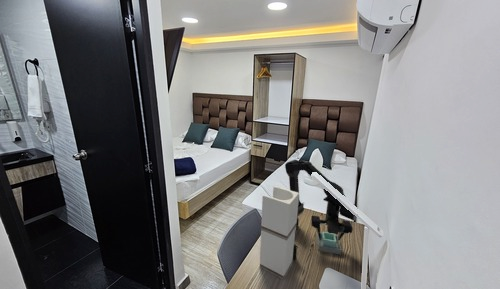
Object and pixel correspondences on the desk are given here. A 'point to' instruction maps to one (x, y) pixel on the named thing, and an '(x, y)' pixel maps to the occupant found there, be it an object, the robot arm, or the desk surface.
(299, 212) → the robot arm
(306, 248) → the desk surface
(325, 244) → the teal crate
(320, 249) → the grey square tray
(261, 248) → the white pencil holder
